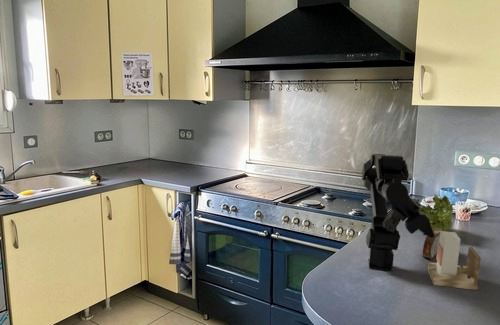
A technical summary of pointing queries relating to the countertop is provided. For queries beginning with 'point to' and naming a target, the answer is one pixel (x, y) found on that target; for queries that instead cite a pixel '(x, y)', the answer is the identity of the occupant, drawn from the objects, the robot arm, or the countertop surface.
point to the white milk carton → (448, 253)
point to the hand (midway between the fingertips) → (433, 236)
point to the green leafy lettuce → (439, 213)
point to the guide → (459, 273)
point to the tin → (431, 244)
